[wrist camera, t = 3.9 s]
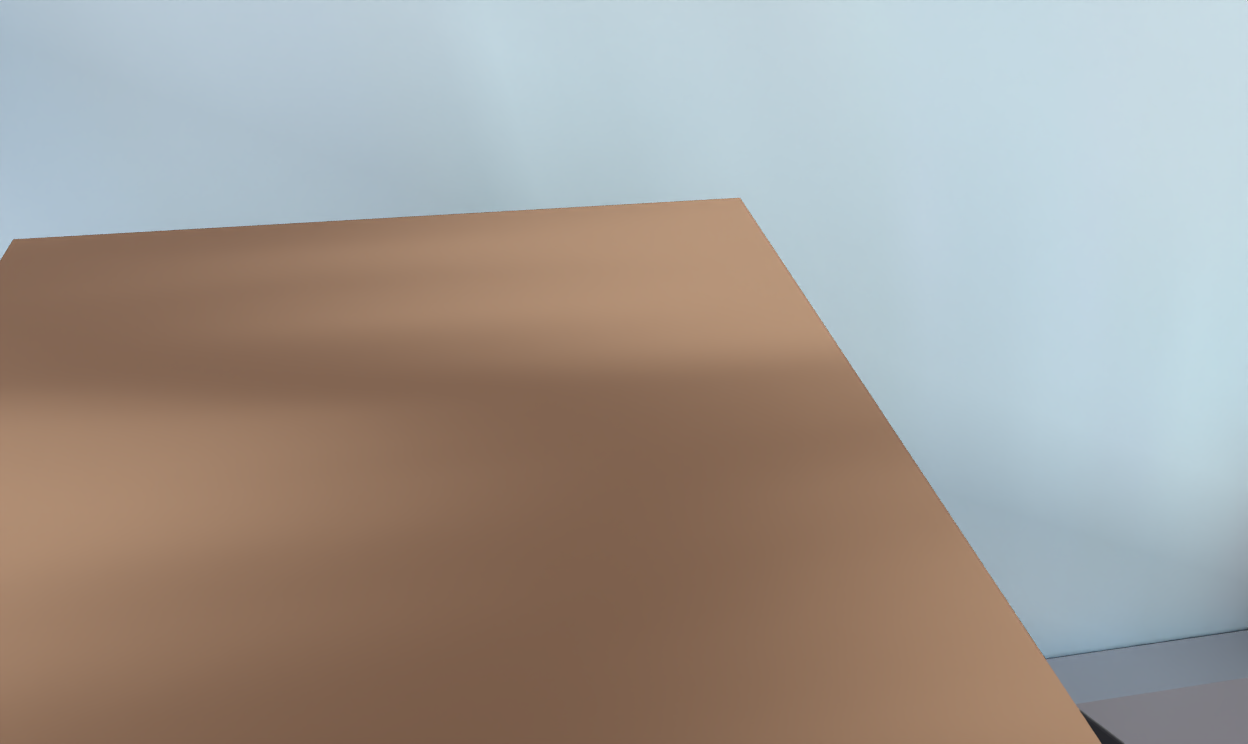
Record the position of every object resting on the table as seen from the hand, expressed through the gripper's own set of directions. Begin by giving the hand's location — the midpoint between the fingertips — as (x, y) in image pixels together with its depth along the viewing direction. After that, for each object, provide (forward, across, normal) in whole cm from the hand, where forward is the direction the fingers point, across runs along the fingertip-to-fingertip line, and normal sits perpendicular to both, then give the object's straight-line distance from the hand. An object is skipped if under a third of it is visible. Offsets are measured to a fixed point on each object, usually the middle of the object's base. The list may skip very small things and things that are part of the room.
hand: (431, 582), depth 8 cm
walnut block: (+1, 0, 0) cm, 1 cm away
